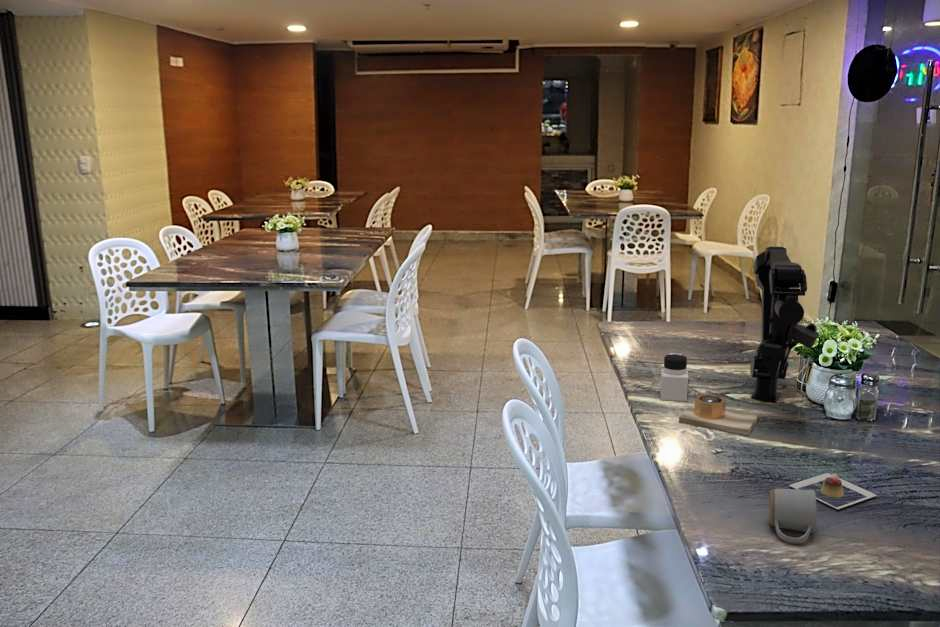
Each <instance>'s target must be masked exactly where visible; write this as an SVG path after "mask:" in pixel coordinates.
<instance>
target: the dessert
mask: <svg viewBox="0 0 940 627" xmlns="http://www.w3.org/2000/svg"><path fill="white" fill-rule="evenodd" d="M819 482H823V483H822V486H821V488H820V490H819V492H820V493H821V494H822V495H824V496H826V497H829V498H835V499H836V498H839V499H840V498H843V497H844V496H845V492H844V487H845V488H847V489H850V490H852V491H854V492H857V493H858V494H861V495H862V496H865V497H863V498H859V499H857V500H853V501H851V502H848V503H846V504H842V505H840V506H834V505H832V504H831V503H828V502H826V501H824V500H822V499H820V498H818V497H816V501H819V502H821V503H823V504H825V505H827V506H829V507H831V508H833V509H835V510H840V509H844V508H846V507H849V506H852V505H854V504H857V503H860V502H863V501H865V500H869V499H871V498H874V497H877V496H878V494H877V493H876V494H875V493H874V492H871V491H868V490H867V489H864V488H862V487H860V486H858V485H856V484H853V483H851V482H849V481H847V480H844V479H843V478H840V477H839V476H838V474H836V473H835V472H834V473H832V474H831V473H828V472H826V473H823V474H820V475H816V476H813V477H809V478H807V479H804V480H801V481H800V480H799V481H798V482H794V483H791V484H788V486H789V487H791V488H792V489H798V490H801V489H800V488H805V487H806V486H810V485H813V484H816V483H819Z"/></svg>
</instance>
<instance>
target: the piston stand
mask: <svg viewBox="0 0 940 627" xmlns="http://www.w3.org/2000/svg"><path fill="white" fill-rule="evenodd" d="M694 410H695V402H692V403H691V404H690V405H689V406H688V407H687V408H686V409H685V410H684V411H683V412H682V413H681V415H679V417H678V423H679V424H683V423H684V425H688V424H689V426H695V427H699V426H700V428H705V429H710V430H711V429H712V430H715V431H721V432H726V433H730V432H731V434H736V435H741V434H742V436H746V435H747V436H749V435H750V433H751V432H752V430H753V429H754V427H755V426H756V424H757V423H758V421H759V419H760V418H759V417H760V414H758V413H755V412H748V411H744V410H743V411H742V410H738V409H737V410H736V409H731V408H726V407H725V415H724V416H723V418H720V419H707V418H701V417H699V416H697V415H696V414H695V413H694Z"/></svg>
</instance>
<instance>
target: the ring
mask: <svg viewBox="0 0 940 627" xmlns="http://www.w3.org/2000/svg"><path fill="white" fill-rule="evenodd" d="M703 397H715V398H717V399H718V403H708V402H703V401H702V398H703ZM694 403H695V410H694V413H695V414H696V415H697V416H699V417H701V418H707V419H720V418H723V416H724V415H725V408H726V403H727V399H725V398H723V397H722V396H721V395H715V394H708V393H705V394H698V395H697V396H696V397H695V399H694Z"/></svg>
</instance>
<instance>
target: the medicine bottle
mask: <svg viewBox="0 0 940 627" xmlns="http://www.w3.org/2000/svg"><path fill="white" fill-rule="evenodd" d="M687 363H688V358H687V356H686V355H683V354H681V353H669V354H666V355H665V356H664V358H663V367H662V368H661V369H660V384H659V395H660V400H661V401H670V402H671V401H673V402H686V401H687V402H688V397H689V383H690V382H689V381H690V376H689V372H688V369H687V365H688V364H687Z"/></svg>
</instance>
